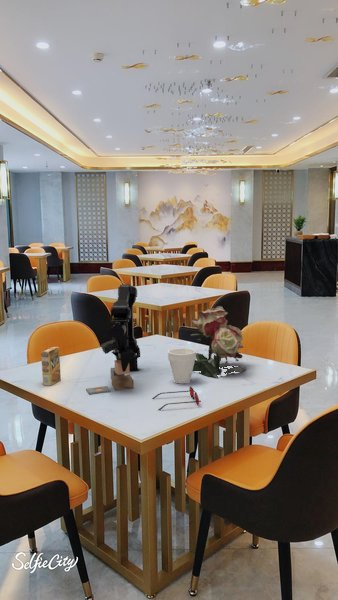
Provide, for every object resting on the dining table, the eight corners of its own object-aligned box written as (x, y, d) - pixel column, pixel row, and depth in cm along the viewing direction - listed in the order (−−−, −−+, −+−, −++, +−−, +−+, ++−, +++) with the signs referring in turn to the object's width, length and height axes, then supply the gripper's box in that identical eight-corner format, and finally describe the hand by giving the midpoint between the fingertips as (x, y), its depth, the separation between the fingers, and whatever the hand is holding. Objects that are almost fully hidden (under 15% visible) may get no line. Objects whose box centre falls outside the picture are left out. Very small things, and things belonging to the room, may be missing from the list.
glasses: (201, 408, 193) (201, 395, 192) (157, 411, 189) (157, 398, 189) (192, 396, 206) (192, 384, 205) (151, 399, 203) (151, 387, 202)
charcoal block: (121, 377, 233) (121, 366, 232) (124, 380, 228) (124, 369, 227) (110, 378, 231) (110, 368, 230) (113, 381, 226) (113, 370, 226)
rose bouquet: (223, 381, 224) (223, 313, 220) (178, 368, 246) (177, 306, 242) (260, 370, 241) (261, 307, 237) (215, 359, 263) (215, 301, 259)
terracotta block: (125, 370, 221) (125, 359, 221) (129, 373, 217) (129, 361, 216) (114, 371, 220) (114, 360, 219) (118, 374, 215) (117, 363, 214)
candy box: (51, 386, 221) (49, 351, 219) (42, 385, 222) (40, 350, 220) (61, 380, 229) (59, 346, 227) (52, 379, 231) (51, 346, 228)
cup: (181, 376, 233) (181, 346, 231) (202, 381, 225) (201, 350, 223) (162, 381, 225) (161, 351, 223) (182, 387, 216) (182, 356, 214)
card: (107, 387, 218) (107, 385, 217) (110, 391, 212) (110, 389, 212) (86, 390, 214) (86, 388, 214) (89, 394, 209) (89, 392, 209)
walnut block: (130, 383, 224) (129, 374, 223) (133, 389, 216) (133, 379, 216) (111, 385, 222) (111, 376, 221) (114, 390, 214) (114, 381, 214)
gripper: (97, 331, 222) (98, 366, 224) (108, 340, 204) (109, 378, 207) (121, 329, 226) (122, 363, 228) (134, 337, 208) (135, 374, 211)
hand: (122, 370), depth 218 cm, fingers closed on terracotta block, 5 cm apart
